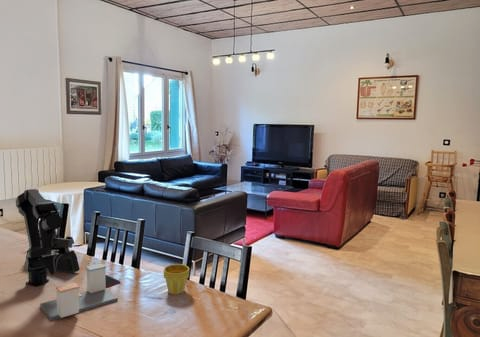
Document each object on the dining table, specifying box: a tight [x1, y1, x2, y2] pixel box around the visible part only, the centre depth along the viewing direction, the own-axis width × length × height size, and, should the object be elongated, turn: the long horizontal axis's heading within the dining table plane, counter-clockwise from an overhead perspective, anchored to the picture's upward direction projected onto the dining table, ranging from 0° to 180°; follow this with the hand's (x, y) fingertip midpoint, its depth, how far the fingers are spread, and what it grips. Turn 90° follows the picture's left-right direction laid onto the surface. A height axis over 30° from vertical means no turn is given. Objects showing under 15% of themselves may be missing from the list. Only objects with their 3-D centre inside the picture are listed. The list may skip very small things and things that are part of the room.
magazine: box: [25, 247, 80, 273], centre depth 175 cm, size 17×3×30 cm
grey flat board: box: [39, 288, 119, 321], centre depth 142 cm, size 13×24×2 cm, turn 133°
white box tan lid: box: [55, 282, 80, 319], centre depth 131 cm, size 4×6×10 cm
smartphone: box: [105, 274, 121, 289], centre depth 164 cm, size 7×1×15 cm
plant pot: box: [163, 263, 190, 295], centre depth 155 cm, size 10×10×10 cm
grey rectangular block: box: [85, 263, 107, 293], centre depth 150 cm, size 4×6×10 cm
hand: (53, 274), depth 142 cm, fingers closed
